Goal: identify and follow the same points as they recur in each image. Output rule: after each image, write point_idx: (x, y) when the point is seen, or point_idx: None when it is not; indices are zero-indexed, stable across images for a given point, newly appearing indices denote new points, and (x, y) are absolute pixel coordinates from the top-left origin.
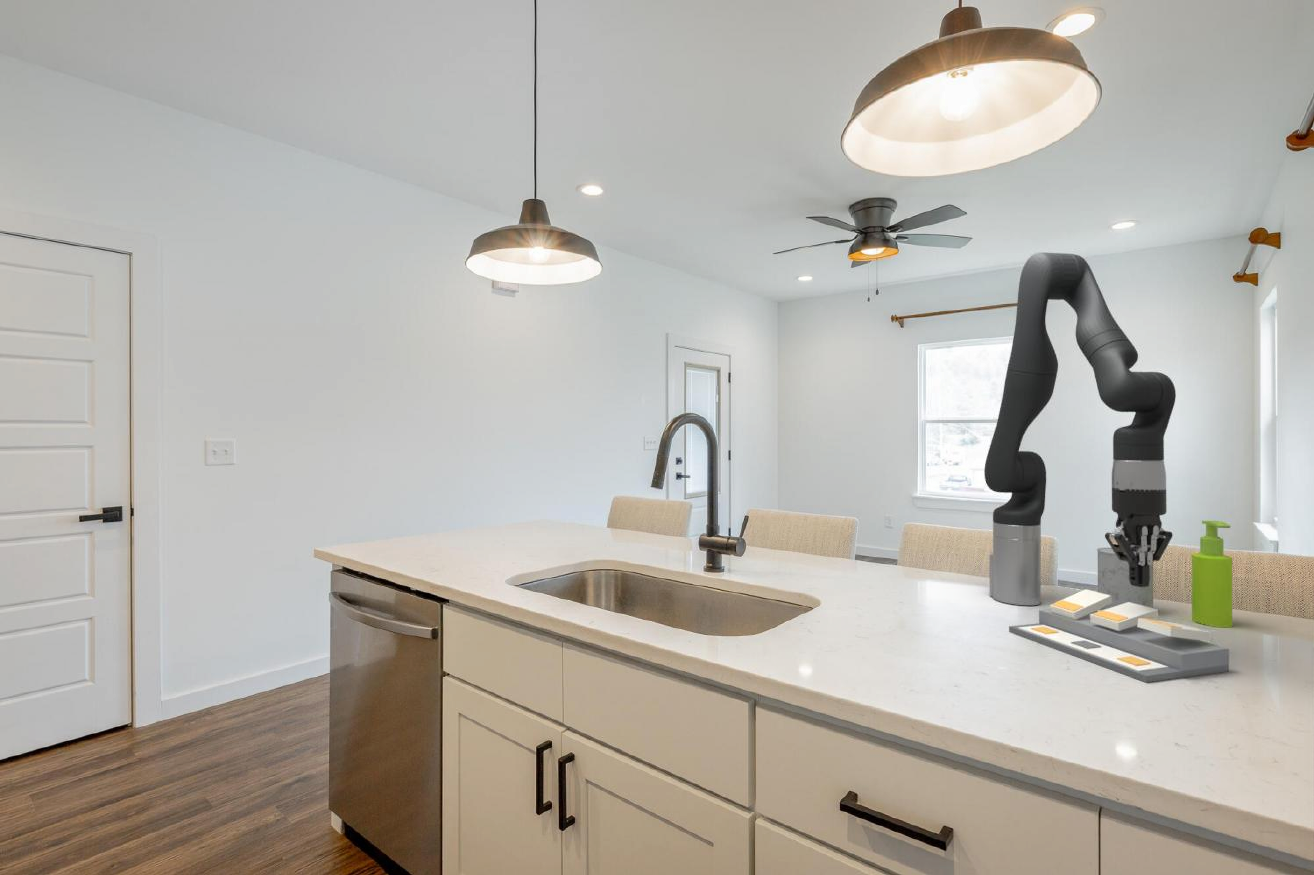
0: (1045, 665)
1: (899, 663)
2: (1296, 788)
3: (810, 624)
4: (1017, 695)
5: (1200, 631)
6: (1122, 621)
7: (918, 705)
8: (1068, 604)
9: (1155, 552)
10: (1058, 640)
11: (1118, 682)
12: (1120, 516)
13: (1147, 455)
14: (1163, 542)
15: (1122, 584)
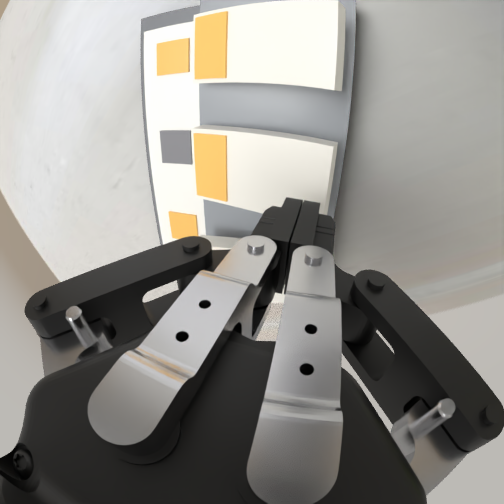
0: (99, 169)
1: (14, 132)
2: None
3: (4, 22)
4: (55, 217)
5: (277, 302)
6: (206, 199)
7: (16, 204)
8: (213, 43)
9: (347, 354)
10: (152, 112)
11: (139, 236)
12: (27, 448)
13: None
14: (390, 413)
15: None
